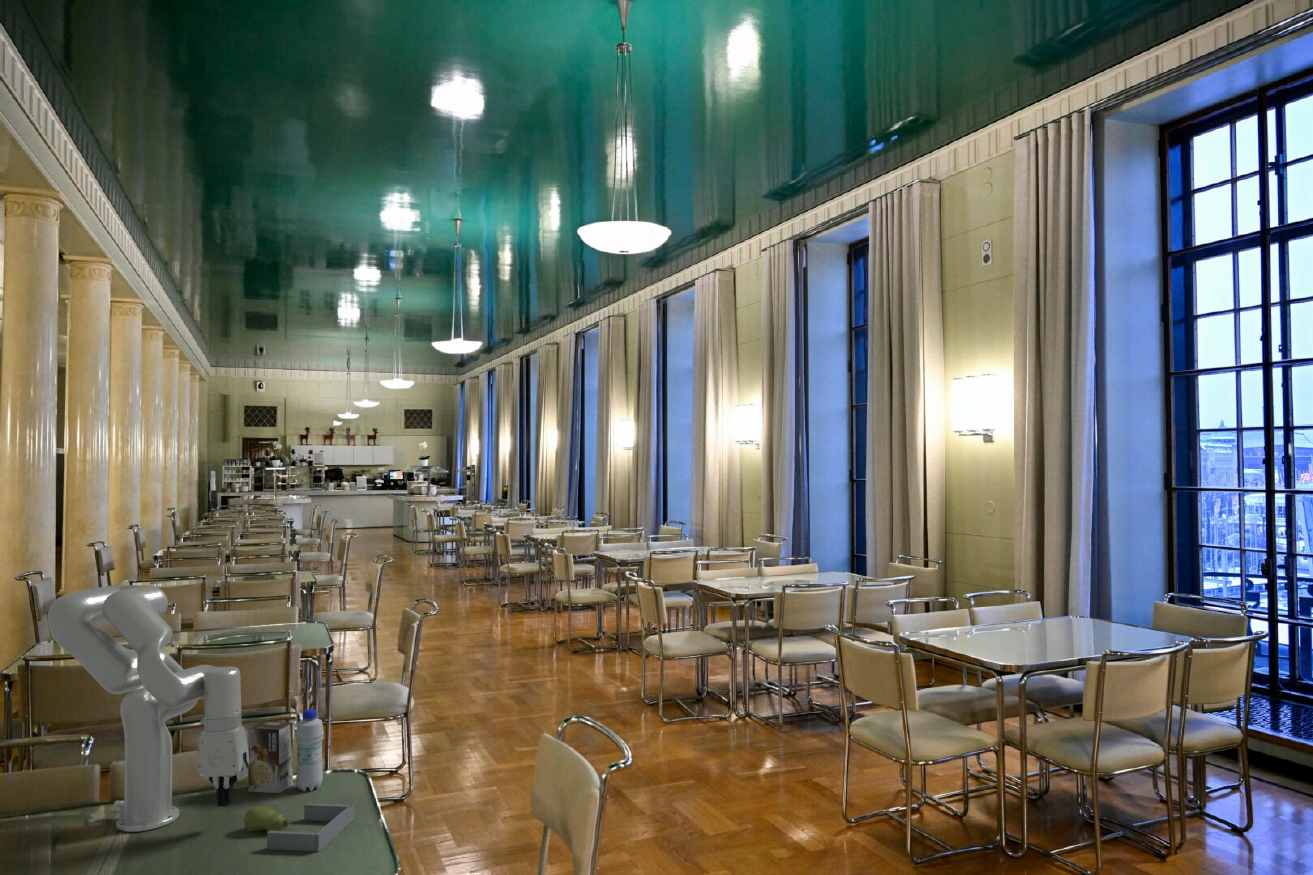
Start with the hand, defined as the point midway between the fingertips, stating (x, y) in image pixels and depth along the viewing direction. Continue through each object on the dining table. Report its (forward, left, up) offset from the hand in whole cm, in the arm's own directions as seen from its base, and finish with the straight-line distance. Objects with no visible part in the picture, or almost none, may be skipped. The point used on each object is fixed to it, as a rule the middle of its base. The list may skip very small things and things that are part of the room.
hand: (225, 804), depth 193 cm
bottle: (+6, +25, -6) cm, 26 cm away
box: (+21, -1, -5) cm, 22 cm away
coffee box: (-4, +24, -6) cm, 25 cm away
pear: (+10, 0, -6) cm, 12 cm away
